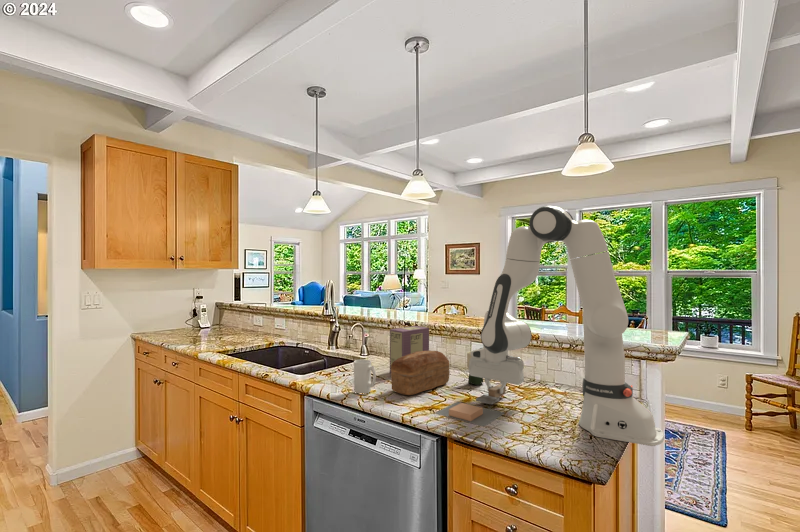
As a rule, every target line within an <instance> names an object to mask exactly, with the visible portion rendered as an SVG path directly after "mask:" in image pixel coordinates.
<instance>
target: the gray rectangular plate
mask: <svg viewBox="0 0 800 532" xmlns="http://www.w3.org/2000/svg"><path fill="white" fill-rule="evenodd" d="M460 403H464V404H468V405H472V406H475V405H473V404H470V403H465V402H461V401H457V402H454V403H452V404H451V405H448V406H446V407H444V408H442V409H440V410H438V411H435V412H434V414H436V415H440V416H443V417H447V418H451V419H454V420H458V421H462V422H465V423H469V424H473V425H476V426H480V427H486V426H488V425H489V424H491V423H492V422H494V421H495V420H497V419H498V418H500V417H501V416H503V415H505V414H506V412H504V411H498V410H495V409H491V408H486V407H483V406H480V407H481V408H483V414H482V415H481V416H479V417H477V418H475V419H474V420H472V421H468V420H464V419H460V418H456V417H453V416H449V409H450V408H452V407H454V406H456V405H458V404H460ZM476 406H477V405H476ZM477 407H479V406H477Z"/></svg>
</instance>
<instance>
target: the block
mask: <svg viewBox="0 0 800 532" xmlns="http://www.w3.org/2000/svg"><path fill="white" fill-rule="evenodd" d="M464 403H465V402H462V403H460V404H458V405H456V406H454V407H452V408H450V409H449V416H453V417H456V418H460V419H464V420H468V421H472V420H474V419H475V418H477V417H479V416H481V415H482V414H483V408H484V407H483V408H481V407H482V406H478V407H477V405H474V406H472V405H473V404H470V405H468V404H469V403H466V404H464Z"/></svg>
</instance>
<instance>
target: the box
mask: <svg viewBox="0 0 800 532" xmlns="http://www.w3.org/2000/svg"><path fill="white" fill-rule="evenodd" d="M416 351H430V328H429V327H425V326H418V325H412V326H411V325H410V326H405V327H398V328H397V327H396V328H391V329H389V374H391V365H392V363H393V362H394V361H395V360H396V359H398V358H400V357H402V356H405V355H408V354H411V353H414V352H416Z"/></svg>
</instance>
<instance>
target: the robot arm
mask: <svg viewBox="0 0 800 532" xmlns="http://www.w3.org/2000/svg"><path fill="white" fill-rule="evenodd" d="M510 234H511V235H510V236H509V241H508V245H507V249H506V256H505V262H504V266H503V269H502V271H501V274H500V275H499V276H498V277H497V278H496V281H495V284H494V285H493V286H494V287H493V291H492V294H491V299H490V303H489V307H488V310H487V311H486V312H485V315H484V319H483V327H482V328H481V331H480V332H481V333H480V340H481V343H482V347H480V348H476V349H474V350H473V349H472V350H471V358H470V361H469V368H468V375H469V374H470V375H471V376H475V377H480V378H483V379H484V383H485V385H486V386H487V390H486V391H488V389H490V388H492V387H494V385H492V384H491V382H490V381H491V380H492V381H496V382H497V381H498V382H500V383H499V384H501V385H502V386H501V387H499V388H498V393H500V394H502V393H503V388H504V387H505V385H507V384H512V385H517V386H519V385H521V384H523V383H524V382H525V375H524V367H525V366H524V364H525V363H524V360H523V359H521V357H519V356H512V355H509V351H513V350H519V349H524V348H526V347H528V346H529V345H530V343H531V341H532V338H533V337H532V335H533V333H532V330H531V328H530V326H529V324H527V323H526V322H525V321H521V320H520V319H517V318H515V317H514V316H513V315H511V314H510V313H509V312H508V309H509V305H510V301H511V299H512V298H513V296H514V295H515V294H516V293H518V292H519V291H520V290H522V289H524V288H526V287H528V286H530V285H532V284H533V283H534V281H536V280H537V277H538V275H539V271H540V266H541V265H540V264H541V263H540V262H541V254H542V249H543V247H544V246H545V244H549V243H554V242H562V243H564V245H565V246H566V249H567V251H568V256H569V259H570V260H569V261H570V265H571V269H572V273H573V277H574V280H575V284H576V287H577V288H576V289H577V291H578V295H579V298H580V302H581V306H582V310H583V311H582V312H583V313H582V319H583V320H582V322H583V323H582V325H583V326H582V327H583V350H584V352H583V353H584V377H583V378H582V397H583V401H582V408H581V414H580V417H579V420H578V426H579V427H581V428H582V429H584V430H586V431H588V432H589V433H590V434H591V435H592V436H594V437H597V438H602V439H608V440H615V441H619V442H620V441H621V442H625V443H631V444H637V445H643V446H649V447H656V446H659V445H661V444H662V443H663V442H664V440H665V432H664V431H663V430H662V429H661V428H660V427H656V422H655V418H654V416H653V413H652V412H651V411H650V410H649V409H648V408H647V407H646V406H644V405H643V404H642V403H641V402H640V401H639V400H637V399H636V398H634V397H633V394H634V393H633V390H634V389H633V387H634V386H633V384H631V385H629V384H628V383H627V382H626V376H625V375H626V367H625V365H626V355H625V349H624V339H623V334H624V333H625V332H626V330H627V329H628V325H629V315H628V312H627V309H626V306H625V303H624V299H623V296H622V293H621V291H620V287H619V284H618V282H617V279H616V276H615V272H614V267H613V264H612V260H611V255H610V251H609V249H608V248H609V247H608V245H607V242H606V239H605V237H604V234H603V232H602V230H601V228H600V226H599V224H598V223H597V222H596V221H594V220H591V219H580V220H574V218H573V216H572V214H570V212H568V211H567V210H564V209H563V208H562V207H560V206H555V205H554V206H553V205H544V206H541V207H539V208H537V209H536V210H534V212H532V214H531V215H530V218H529V225H528V226H524V225H522V226H519V227H516V228H514V229H513V231H512V232H511V233H510Z"/></svg>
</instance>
